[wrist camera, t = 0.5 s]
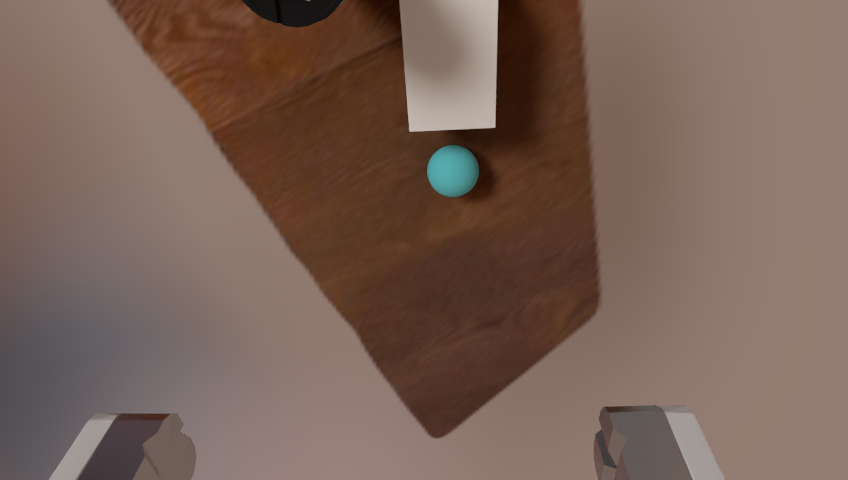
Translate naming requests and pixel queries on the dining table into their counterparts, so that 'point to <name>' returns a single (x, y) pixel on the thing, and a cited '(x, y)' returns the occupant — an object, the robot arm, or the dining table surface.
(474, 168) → the ball
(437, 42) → the off-white rectangular block
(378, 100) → the dining table surface
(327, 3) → the travel mug
